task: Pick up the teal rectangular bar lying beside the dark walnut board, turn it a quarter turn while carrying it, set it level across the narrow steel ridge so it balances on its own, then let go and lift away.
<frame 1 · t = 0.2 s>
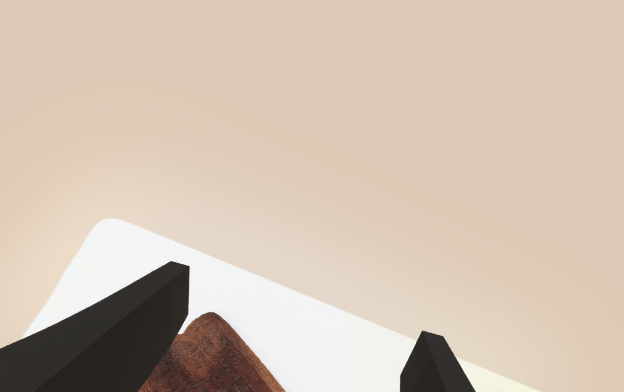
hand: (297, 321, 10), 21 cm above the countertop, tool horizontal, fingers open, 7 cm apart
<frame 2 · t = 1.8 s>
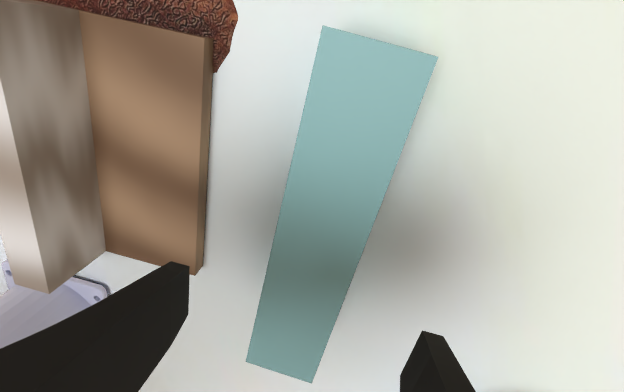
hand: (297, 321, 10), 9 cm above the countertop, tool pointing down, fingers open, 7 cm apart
teal rectangular bar: (330, 199, 18), on the countertop
ridge: (91, 141, 18), on the countertop
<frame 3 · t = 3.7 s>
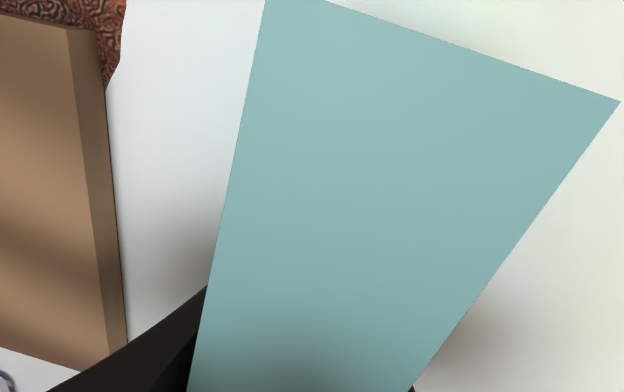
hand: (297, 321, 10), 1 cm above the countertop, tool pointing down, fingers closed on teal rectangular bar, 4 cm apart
teal rectangular bar: (306, 288, 11), on the countertop, touching gripper
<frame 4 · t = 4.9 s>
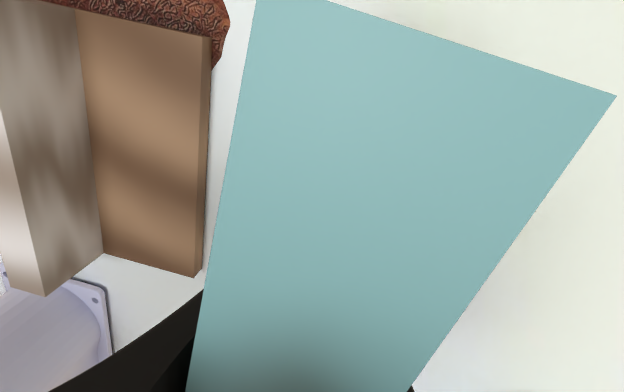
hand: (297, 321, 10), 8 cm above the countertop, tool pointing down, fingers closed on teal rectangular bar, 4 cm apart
teal rectangular bar: (306, 288, 11), point 7 cm above the countertop, touching gripper
ridge: (89, 142, 18), on the countertop
when the fingers open (7 cm above the countertop, at t = 7.5 s): teal rectangular bar stays where it is, resting on ridge.
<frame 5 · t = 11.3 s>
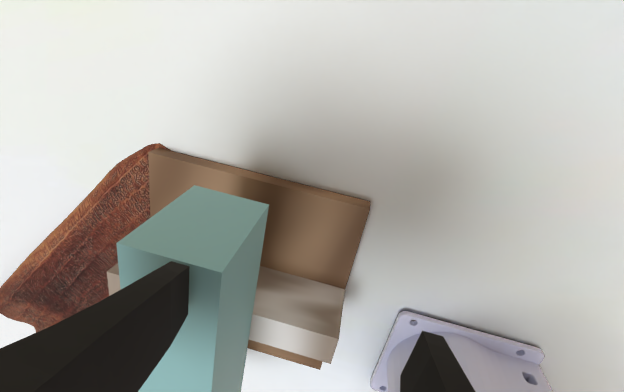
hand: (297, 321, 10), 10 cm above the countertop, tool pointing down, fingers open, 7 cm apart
teal rectangular bar: (219, 319, 18), point 5 cm above the countertop, touching ridge
wooden tablet: (113, 268, 26), on the countertop
ridge: (249, 264, 23), on the countertop
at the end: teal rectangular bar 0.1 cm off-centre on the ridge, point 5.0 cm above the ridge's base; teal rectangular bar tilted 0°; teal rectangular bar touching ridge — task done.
